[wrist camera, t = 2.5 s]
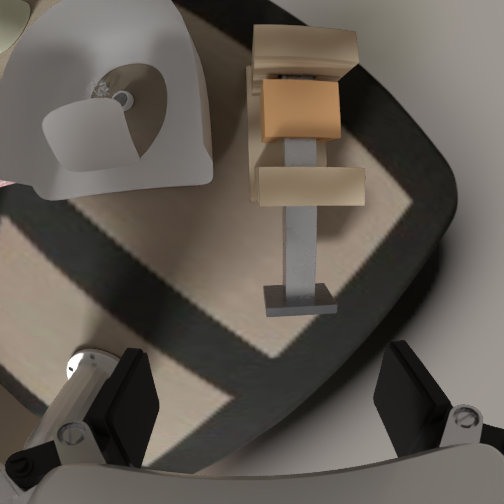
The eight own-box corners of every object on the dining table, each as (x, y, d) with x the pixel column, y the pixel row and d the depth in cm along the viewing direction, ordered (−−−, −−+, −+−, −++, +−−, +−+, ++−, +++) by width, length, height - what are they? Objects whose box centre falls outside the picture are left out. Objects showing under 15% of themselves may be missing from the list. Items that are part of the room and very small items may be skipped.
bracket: (324, 199, 32) (370, 220, 20) (250, 200, 32) (252, 222, 20) (320, 69, 28) (360, 21, 16) (246, 68, 28) (245, 13, 16)
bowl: (214, 19, 27) (200, -38, 15) (218, 183, 32) (203, 192, 20) (59, 53, 27) (3, 27, 15) (58, 199, 32) (-5, 216, 20)
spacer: (322, 143, 27) (340, 138, 21) (261, 142, 27) (265, 136, 21) (320, 97, 26) (338, 82, 20) (259, 96, 26) (263, 79, 20)
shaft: (323, 290, 30) (336, 312, 25) (263, 293, 30) (266, 317, 25) (321, 62, 24) (335, 44, 19) (257, 60, 24) (259, 40, 19)
